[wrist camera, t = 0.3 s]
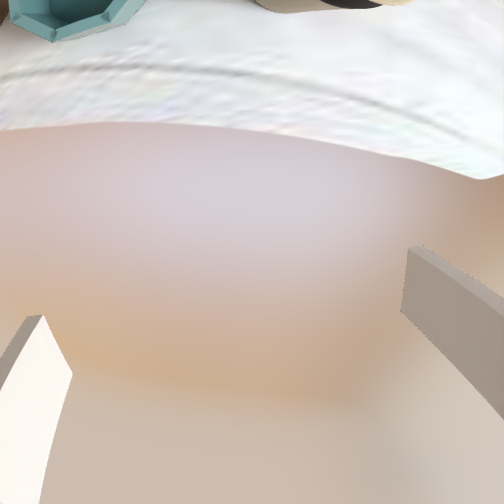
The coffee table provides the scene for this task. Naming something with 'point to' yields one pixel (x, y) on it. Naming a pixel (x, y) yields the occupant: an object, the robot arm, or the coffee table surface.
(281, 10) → the travel mug
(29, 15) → the bowl
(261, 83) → the coffee table surface
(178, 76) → the coffee table surface
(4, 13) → the lid
